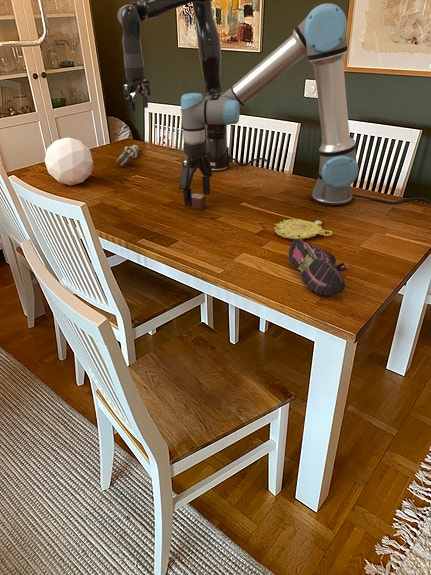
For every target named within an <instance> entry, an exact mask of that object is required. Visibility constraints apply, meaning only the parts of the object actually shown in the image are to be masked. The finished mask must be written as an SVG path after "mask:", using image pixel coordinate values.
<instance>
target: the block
mask: <svg viewBox="0 0 431 575" xmlns="http://www.w3.org/2000/svg"><path fill="white" fill-rule="evenodd" d="M191 196H192V207H189V209H192V210H199V211H202V210H203V209H205V208H206V207H207V194H203V193H193V194H192V193H191Z"/></svg>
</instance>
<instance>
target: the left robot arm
mask: <svg viewBox="0 0 431 575" xmlns="http://www.w3.org/2000/svg"><path fill="white" fill-rule="evenodd" d="M188 4H192V8H193V13H194V20H195V31H196V32H195V33H196V39H197V50H198V57H199V63H200V68H201V73H202V77H203V78H202V79H203V90H204V92H203V94H204V95H203V99H204V100H208V101H209V100H218V99H219V97H220V96H221V95H222V94H223V93H224V91H223V86H222V79H221V70H222V45H221V38H220V34H219V30H218V27H217V25H216V22H215V19H214V15H213V7H212V0H136V1H133V2H130V3H127V4H125V5H123V6H121V7H120V8H119V9H118V12H117V19H118V20H117V21H118V22H119V23H120V25H121V26H122V50H123V63H124V72H125V79H126V80H127V81H128V83H124V84H123V85H122V87H123V96H124V97H123V99H124V102H125V101H126V102H128V107H129V111H130V112H131V113H135V112H136V111H137V110H136V102H135V100H136V97H137V96H138V95H140V97H141V103H142V108H143V109H147V108H149V101H148V98H149V96H151V87H150V81H149V79H146V71H145V62H144V56H143V49H142V40H141V34H142V33H141V30H142V29H141V28H142V22H144V21H148V20H153V19H155V18H158V17H160V16H163V15H165V14H167V13H169V12H172V11H174V10H176V9H178V8H181V7H183V6H186V5H188ZM205 128H206V129H205V138H206V151H207V153H208V159H209V162H210V165H211V168H212V171H213V172H223V171H226V170H227V169H229V168H230V164H232V163H233V161H234V162H236V164H237V165H238V166H248V165H251V163H252V162H256V161H261V160H262V161H264V162H265V163H266V162H269V160H268V159H267V158H265V157H256V158H253V159H251V160H249V161H248V162H243V163H242V162H240V161H239V160H238V159H236V158H234V157H233V155H231V154H230V148H229V146H228V125H226V124H205ZM208 170H209V169H208Z"/></svg>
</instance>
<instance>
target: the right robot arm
mask: <svg viewBox="0 0 431 575" xmlns="http://www.w3.org/2000/svg"><path fill="white" fill-rule="evenodd" d="M347 29H348V19H347V16H346V14H345V12H344V11H343V9H342V8H341V7H340V6H339V5H337V4H334V3H332V2H331V3H330V2H326V3H321V4H319V5H317V6H315V7H314V8H313V9H311V11H309V13H308V15H307V16H306V17H305V18H304V19H303V20H302V22H300V24H299V25H297V26H296V27H295V28H294V29H293V31H292V35H291V36H289V37H288V38H287V39H286V40H285V41H283V43H281V44H280V45H279V46H278V47H277V48H275V49H274V50H273V51H272V52H271V53H269V54H268V55H267V56H266V57H265V58H264V59H262V60H261V61H260V62H259V63H258V64H257V65H256V66H255V67H253V68H252V69H251V70H250V71H248V72H247V73H246V74H245V75H244V76H243V77H242V78H240V79H239V80H238V81H237V82H236V83H235V84H233V85H231V87H230V88H229V89H227V90H226V91H225V92H223V94H222V95H221V96H220V97H219V99H218V100H209V101H208V100H204V95H203V94H202V93H200V92H189V93H185V94H182V95H181V97H180V112H181V123H182V124H181V125H182V136H183V137H182V138H183V142H184V143H183V152H184V154H185V155H186V156H187V158H186V159H183V160H182V161H181V164H182V165H181V166H182V168H181V172H180V179H179V185H178V188H179V189H180V190H183V192H182V193H183V200H184V201H183V202H184V207H189V208H190V207H192V196H191V195H192V188H191V186H192V182H193V178H194V175H195V173H196V172H197V170H199V171H200V172H201V174H202V176H201V180H202V194H203V195H211V184H210V182H211V181H210V180H211V179H210V178H212V177H213V172H214V171H212V168H211V165H210V162H209V159H208V153H207V149H206V142H205V141H206V129H205V125H206V124H226V125H227V126H230V125H237V124H238V123H239V122H240V113H241V111H240V110H241V109H242V108H243V107H244V106H245V105H247V104H248V103H249V102H250V101H251V100H253V99H254V98H256V96H258V95H259V94H260V93H262V91H264V90H265V89H267V87H269V86H270V85H271V84H272V83H274V82H275V81H276V80H277V79H279V78H280V77H281V76H282V75H284V74H285V73H286V72H287V71H288V70H290V69H291V68H292V67H294V65H296V64H297V63H298V62H299V61H301V60H302V59H303V58H304V57H307V61H308V62H309V63H310V64H311V65H312V66H313V70H314V78H315V87H316V97H317V103H318V104H317V105H318V114H319V122H320V130H321V138H322V141H321V145H320V147H319V148H318V150H319V151H318V152H319V166H318V176H317V180H314V181H312V186H314V187H313V190H312V192H311V200H312V201H313V202H314V203H316V204H318V205H322V206H327V207H342V206H346V205H350V204H351V203H352V201H353V197H355V198H360V199H365V200H371V201H375V202H380V203H384V204H390V205H398V204H401V203H403V202H406V201H407V202H408V201H424V202H426V203H427V204H428V205H431V201H430V200H429V199H427V198H425V197H406V198H402V199H400V200H397V201H390V200H386V199H382V198H381V199H380V198H377V197H376V198H375V197H370V196H366V195H360V194H356V193H355V194H354V193H353V190H352V184H353V183H354V182H355V181H356V179H357V177H358V175H359V170H360V169H359V164H358V161H357V152H356V151H357V150H356V140H355V139H354V138H352V137H351V136H350V126H349V115H348V113H349V112H348V105H347V104H348V101H347V90H346V79H345V78H346V77H345V66H344V58H345V56H346V55H347V53H348V51H349V50H348V40H347V38H348V37H347V31H348V30H347ZM208 169H209V170H208Z"/></svg>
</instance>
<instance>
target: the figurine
mask: <svg viewBox="0 0 431 575" xmlns="http://www.w3.org/2000/svg"><path fill="white" fill-rule="evenodd" d="M139 148H140V146H139V145H138V144H133V145H130V146H125V147H124V151H122V153H121V154H119V157H118V158H117V159H116V162H115V163H117V164H119V163H120V162H121V163H120V165H119V166H120V167H124V165H126V163H128V162H129V161H130V160H131V159H132V158H133V159H136V158H137V157H138V153H139V151H140V149H139Z"/></svg>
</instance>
